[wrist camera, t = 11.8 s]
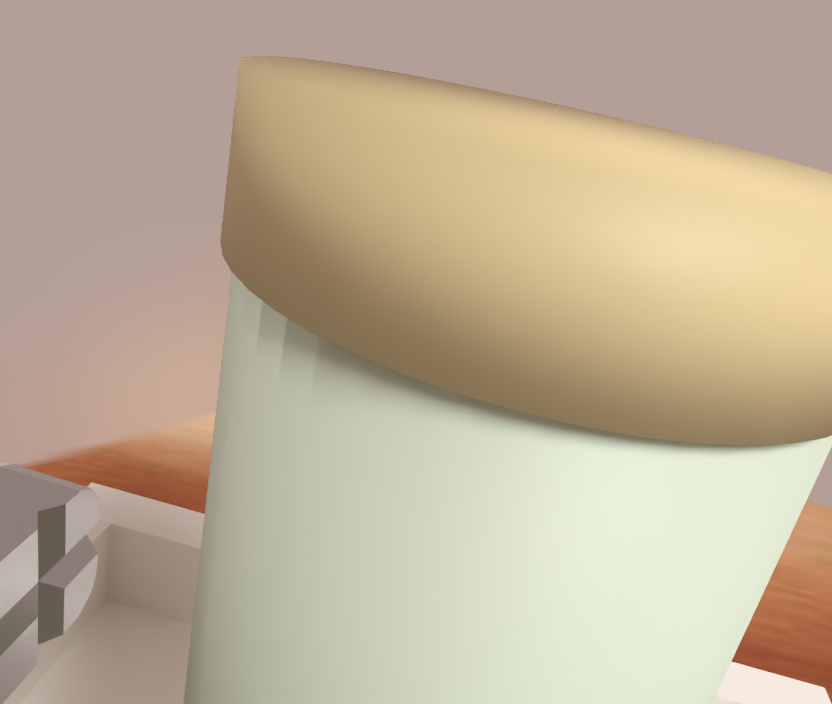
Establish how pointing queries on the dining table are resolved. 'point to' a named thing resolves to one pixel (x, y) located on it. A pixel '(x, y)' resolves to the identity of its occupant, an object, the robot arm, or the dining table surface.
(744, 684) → the dish
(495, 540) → the tea tin
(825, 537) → the dining table surface
